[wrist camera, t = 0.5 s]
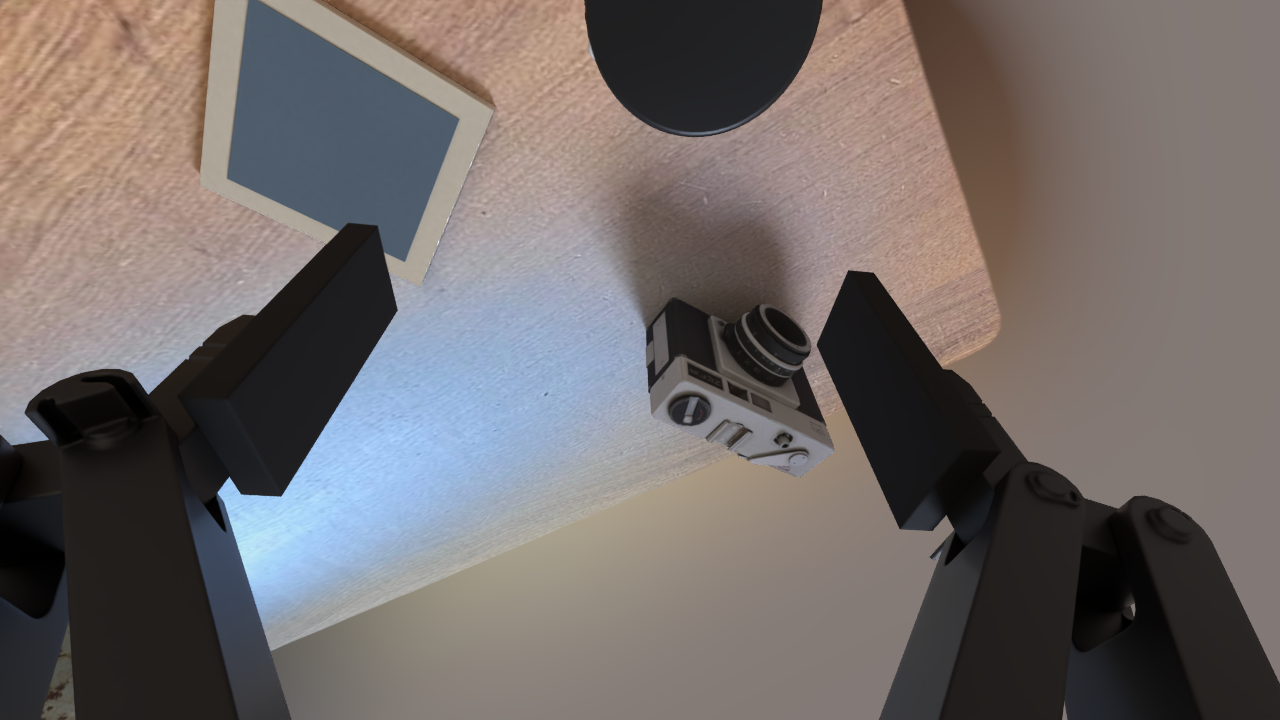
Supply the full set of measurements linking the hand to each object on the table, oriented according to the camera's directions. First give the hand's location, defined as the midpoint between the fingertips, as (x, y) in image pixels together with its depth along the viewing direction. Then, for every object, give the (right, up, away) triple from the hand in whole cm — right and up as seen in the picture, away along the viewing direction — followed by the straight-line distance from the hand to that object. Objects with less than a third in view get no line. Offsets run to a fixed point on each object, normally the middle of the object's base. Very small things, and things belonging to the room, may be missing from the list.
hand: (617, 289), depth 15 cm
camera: (+9, 0, +27) cm, 28 cm away
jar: (+3, +17, +12) cm, 21 cm away
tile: (-17, +11, +17) cm, 27 cm away
